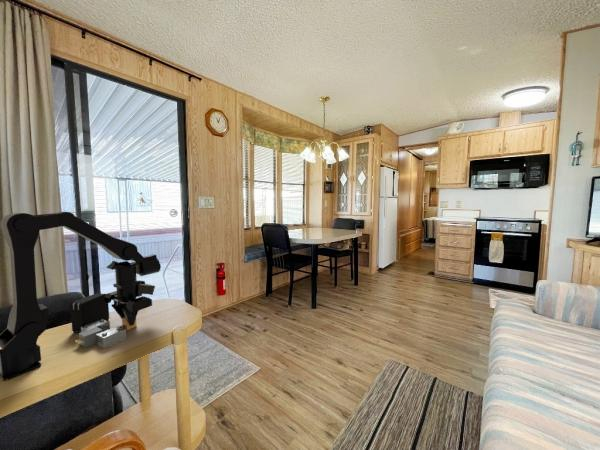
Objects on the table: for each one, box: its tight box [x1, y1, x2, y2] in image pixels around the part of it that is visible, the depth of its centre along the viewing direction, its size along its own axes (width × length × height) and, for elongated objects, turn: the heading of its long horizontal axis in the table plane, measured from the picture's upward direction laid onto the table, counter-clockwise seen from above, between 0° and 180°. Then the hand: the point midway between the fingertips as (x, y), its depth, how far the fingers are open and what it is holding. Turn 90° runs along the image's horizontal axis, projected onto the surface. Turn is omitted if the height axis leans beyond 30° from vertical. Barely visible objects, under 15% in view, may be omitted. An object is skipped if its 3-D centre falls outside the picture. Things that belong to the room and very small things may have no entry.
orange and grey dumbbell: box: [74, 317, 137, 349], centre depth 80 cm, size 16×4×4 cm, turn 151°
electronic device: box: [69, 293, 110, 333], centre depth 87 cm, size 4×10×10 cm, turn 174°
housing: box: [80, 319, 127, 349], centre depth 79 cm, size 6×14×4 cm, turn 61°
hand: (129, 324), depth 86 cm, fingers closed on orange and grey dumbbell, 3 cm apart
